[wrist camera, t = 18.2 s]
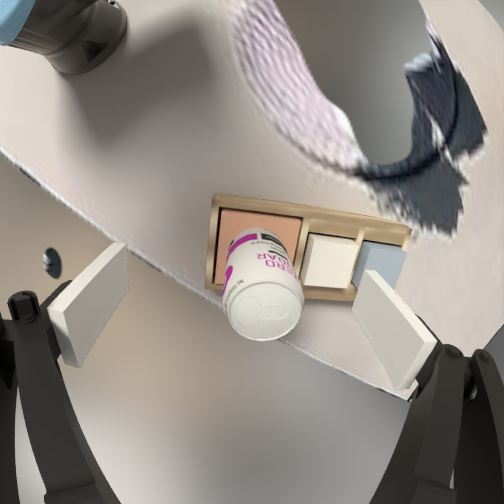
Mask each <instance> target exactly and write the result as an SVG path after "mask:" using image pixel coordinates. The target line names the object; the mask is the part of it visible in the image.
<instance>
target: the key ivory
mask: <svg viewBox="0 0 504 504" xmlns="http://www.w3.org/2000/svg"><path fill="white" fill-rule="evenodd" d="M358 248H359V246H358V245H357V244H356V243H355V242H354V241H353V240H352V239H346V238H339V237H332V236H324V235H317V234H309V238H308V243H307V247H306V252H305V257H304V261H303V266H302V270H301V274H300V277H301V279H302V281H303V284H304V285H310V286H322V287H334V288H347V286H348V283H349V279H350V276H351V273H352V269H353V266H354V262H355V259H356V255H357V251H358Z"/></svg>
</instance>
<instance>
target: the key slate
mask: <svg viewBox="0 0 504 504" xmlns="http://www.w3.org/2000/svg"><path fill="white" fill-rule="evenodd" d="M405 255H406V252H404V251H403V250H402V249H401V248H399V247H398V246H393V245H387V244H380V243H373V242H367V241H363V242H362V245H361V249H360V253H359V256H358V260H357V263H356V267H355V270H354V274H353V277H352V280H351V281H352V282H353V283H354V285H355V286H356V287H357V289H359V285H360V282H361V279H362V276H363V273H364V269H365V270H374V271H376V272H377V273H378V274H379V275H380V276H381V277H382V278H383V279H384V280H385V281H386V282H387V283H388V284H389V286H390V287H391V288H392V289H393V290H394V288H395V285H396V282H397V280H398V277H399V274H400V271H401V268H402V265H403V262H404V259H405Z"/></svg>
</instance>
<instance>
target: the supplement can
mask: <svg viewBox="0 0 504 504" xmlns="http://www.w3.org/2000/svg"><path fill="white" fill-rule="evenodd" d="M303 305H304V295H303V291H302V288H301V285H300V282H299V280H298V278H297V275H296V273H295V270H294V268H293V265H292V263H291V260H290V258H289V255H288V253H287V251H286V248H285V246H284V243H283V241H282V240H281V239H280V238H279V236H278V235H277V234H275V233H274V232H272V231H270V230H269V229H264V228H259V227H256V228H250V229H246V230H244V231H242V232H240V233H239V234H237V235H236V236H235V238H234V239H233V240H232V241H231V243H230V245H229V248H228V251H227V260H226V270H225V279H224V289H223V312H224V314H225V316H226V318H227V320H228V322H229V323H230V324H231V325H232V327H233V328H234V329H235V330H236V331H237V332H238V333H239V334H240V335H241V336H244V337H246V338H248V339H251V340H257V341H269V340H275V339H278V338H280V337H282V336H284V335H286V334H287V333H288V332H290V331H291V330H292V329H293V328H294V327H295V325H296V324H297V322H298V320H299V318H300V314H301V312H302V311H303Z"/></svg>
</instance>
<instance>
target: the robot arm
mask: <svg viewBox="0 0 504 504" xmlns="http://www.w3.org/2000/svg"><path fill="white" fill-rule="evenodd" d="M126 24H127V18H126V13H125V11H124V9H123V8H122V7H121V6H120V5H119V4H118V3H117V2H116V1H115V0H0V45H2V46H11V47H15V48H19V49H23V50H27V51H31V52H34V53H38V54H41V55H43V56H44V57H45V58H46V59H47V60H48V61H49V62H50V63H51V65H52V66H53V67H54V68H55V69H56V70H58V71H60V72H63V73H67V74H73V75H74V74H81V73H84V72H87V71H89V70H91V69H93V68H95V67H97V66H98V65H99V64H101V63H102V62H103V61H104V60H106V59H107V58H108V57H109V56H110V55H111V54H112V52H113V51H114V50H115V49H116V47H117V46H118V44H119V43H120V41H121V39H122V37H123V35H124V32H125V29H126ZM128 290H129V280H128V263H127V243H118V242H114V243H113V244H111V245H110V246H109V247H108V248H107V249H106V250H105V251H104V252H103V253H102V254H100V256H98V257H97V258H96V259H95V260H94V261H93V262H92V263H91V264H90V265H89V266H88V267H87V268H86V269H85V270H84V271H83V272H81V273H80V274H79V275H78V276H77V277H76V278H75V280H69V281H67V282H65V283H63V284H61V285H60V286H59V287H58V288H57V289H56V290H55V291H54V292H53V293H52V294H51V296H49V297H48V298H47V299H46V300H45V301H44V302H43V303H42V304H41V305H40V306H39V303H38V299H37V296H36V294H35V293H34V292H32V291H21V292H17V293H15V294H14V295H12V296H11V297H10V298H9V299H8V303H7V304H8V307H9V310H10V313H11V316H12V319H13V320H4V319H2V316H1V313H0V504H20V501H19V494H18V486H17V477H16V466H15V411H16V397H17V388H18V387H19V394H20V399H21V404H22V410H23V415H24V419H25V423H26V428H27V432H28V435H29V439H30V443H31V447H32V450H33V453H34V456H35V460H36V463H37V465H38V468H39V471H40V474H41V477H42V479H43V482H44V484H45V487H46V492H47V493H46V494H45V495H44V502H45V504H121V503H120V501H119V500H118V498H117V496H116V495H115V493H114V492H113V490H112V488H111V487H110V485H109V483H108V481H107V480H106V478H105V476H104V475H103V473H102V471H101V469H100V467H99V465H98V463H97V461H96V459H95V457H94V455H93V453H92V451H91V449H90V447H89V445H88V443H87V441H86V439H85V436H84V434H83V432H82V430H81V427H80V425H79V422H78V420H77V417H76V415H75V412H74V409H73V407H72V404H71V402H70V398H69V396H68V393H67V390H66V387H65V384H64V381H63V377H62V374H61V370H60V367H59V364H58V362H57V359H58V357H59V355H60V354H61V355H62V357H63V360H64V363H65V364H67V365H70V366H73V367H77V368H80V367H81V366H82V364H83V362H84V360H85V359H86V357H87V355H88V353H89V351H90V350H91V348H92V347H93V345H94V343H95V342H96V339H97V338H98V337H99V335H100V333H101V332H102V330H103V328H104V327H105V325H106V324H107V322H108V320H109V319H110V317H111V316H112V314H113V312H114V311H115V309H116V308H117V306H118V305H119V303H120V302H121V300H122V299H123V297H124V296H125V294H126V293H127V291H128ZM351 311H352V313H353V314H354V316H355V318H356V319H357V321H358V323H359V325H360V326H361V328H362V330H363V331H364V333H365V335H366V337H367V338H368V340H369V342H370V344H371V345H372V347H373V349H374V351H375V352H376V354H377V356H378V358H379V360H380V361H381V363H382V365H383V367H384V369H385V371H386V372H387V374H388V376H389V378H390V380H391V382H392V384H393V385H394V387H395V389H396V390H402V389H408V388H410V386H411V385H412V383H413V381H414V380H415V379H416V380H417V382H418V386H417V387H416V389H415V390H414V392H413V393H412V394H411V396H410V397H409V399H408V400H407V401H408V402H409V401H410V400H411V399H412V401H411V405H410V408H409V411H408V414H407V417H406V420H405V423H404V426H403V429H402V432H401V435H400V437H399V440H398V443H397V445H396V448H395V450H394V453H393V455H392V457H391V460H390V462H389V464H388V467H387V469H386V471H385V473H384V475H383V478H382V480H381V482H380V484H379V486H378V488H377V490H376V492H375V494H374V496H373V497H372V499H371V501H370V503H369V504H504V385H503V382H502V380H501V377H500V374H499V372H498V369H497V366H496V364H495V362H494V359H493V358H492V356H491V355H490V354H489V353H488V352H487V351H485V350H482V349H477V350H475V352H474V353H473V355H472V357H464V356H463V353H462V352H461V351H460V350H459V349H458V348H457V347H455V346H453V345H450V344H444V345H443V344H442V343H441V341H440V340H439V339H438V338H437V337H436V335H435V334H434V333H433V332H432V330H430V328H429V327H428V326H427V325H426V323H425V322H424V321H423V320H422V319H421V318H420V317H419V316H417V315H416V314H415V313H413V311H412V310H411V309H410V308H409V307H408V306H407V305H406V303H405V302H404V301H403V300H402V299H401V298H400V297H399V296H398V294H397V293H396V292H395V291H394V290H393V289H392V288H391V287H390V286H389V284H388V283H387V282H386V281H385V280H384V279H383V278H382V277H381V276H380V275H379V274H378V273H377V272H376V271H374V270H365V269H364V273H363V276H362V279H361V282H360V285H359V289H358V292H357V295H356V298H355V301H354V304H353V306H352V309H351ZM476 389H477V394H476V397H475V398H474V399H473V397H472V395H473V393H474V392H475V391H476ZM453 468H454V489H451V488H450V487H449V486H450V480H451V476H452V472H453Z"/></svg>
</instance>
